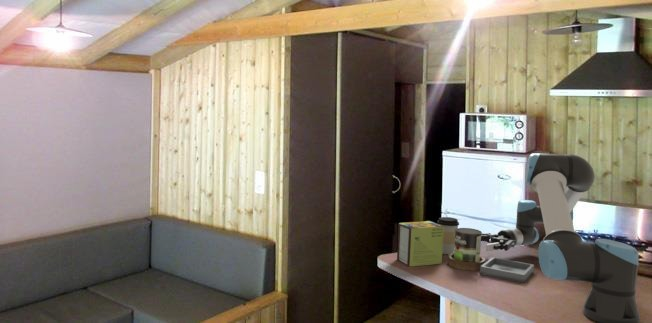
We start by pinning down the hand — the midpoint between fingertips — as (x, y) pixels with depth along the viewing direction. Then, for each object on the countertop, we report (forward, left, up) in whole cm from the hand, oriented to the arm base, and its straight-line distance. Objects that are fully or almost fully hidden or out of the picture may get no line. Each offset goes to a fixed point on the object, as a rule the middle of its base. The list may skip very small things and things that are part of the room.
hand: (473, 243), depth 205 cm
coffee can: (-4, +1, -9) cm, 9 cm away
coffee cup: (+8, +14, -8) cm, 18 cm away
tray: (-4, -15, -8) cm, 17 cm away
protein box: (-12, +18, -9) cm, 23 cm away
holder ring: (-4, +1, -8) cm, 9 cm away
